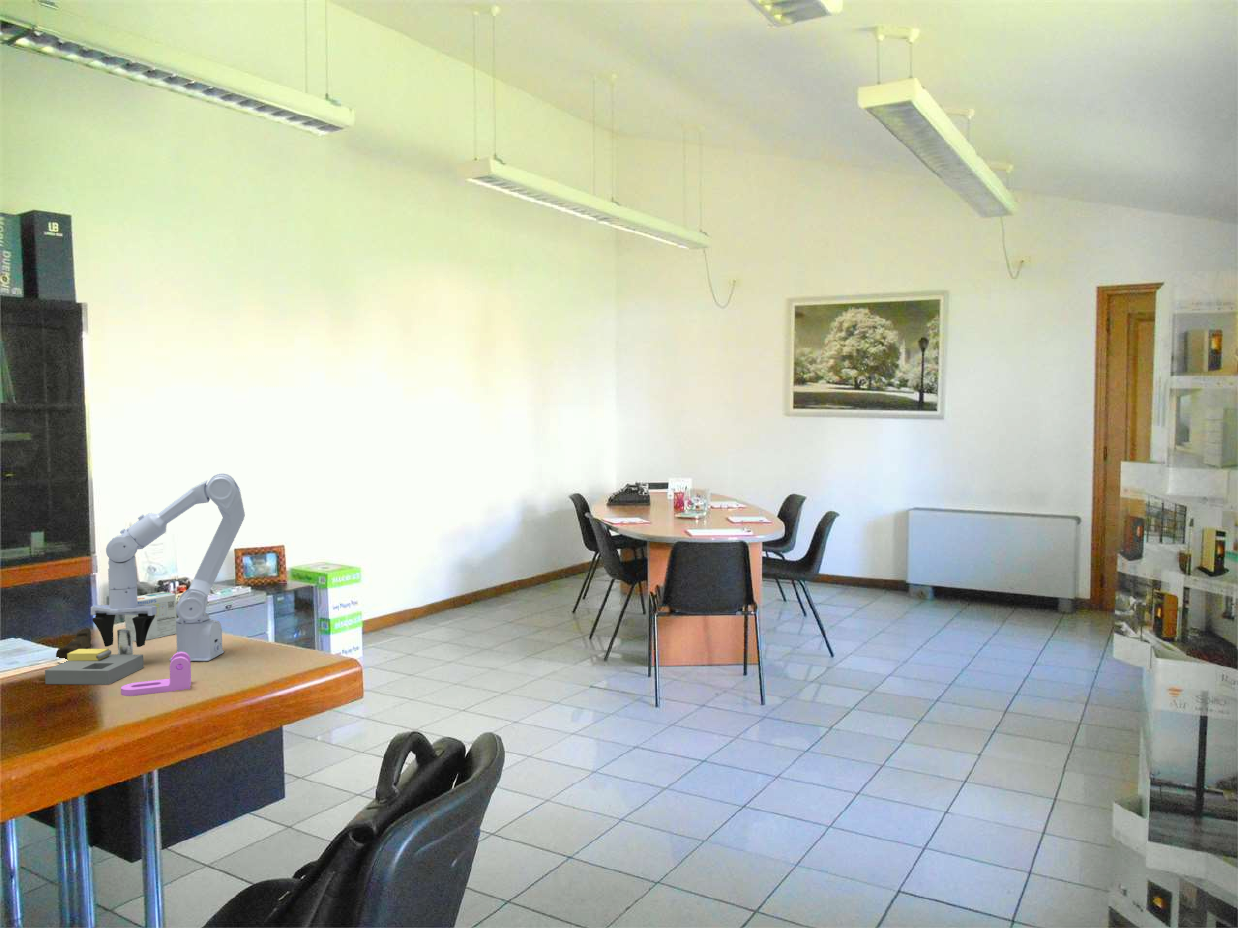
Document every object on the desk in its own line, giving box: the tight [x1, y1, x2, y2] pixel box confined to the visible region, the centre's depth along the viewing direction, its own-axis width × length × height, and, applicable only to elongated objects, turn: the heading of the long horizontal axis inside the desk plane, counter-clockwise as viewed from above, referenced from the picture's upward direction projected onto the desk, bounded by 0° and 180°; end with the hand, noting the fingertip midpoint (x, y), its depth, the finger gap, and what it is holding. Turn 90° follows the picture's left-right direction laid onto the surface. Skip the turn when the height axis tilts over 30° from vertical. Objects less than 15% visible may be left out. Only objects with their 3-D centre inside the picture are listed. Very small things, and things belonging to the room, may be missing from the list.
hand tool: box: [55, 627, 92, 659], centre depth 220 cm, size 19×4×5 cm, turn 13°
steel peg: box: [116, 627, 134, 655], centre depth 210 cm, size 3×3×8 cm
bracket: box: [120, 651, 192, 697], centre depth 190 cm, size 13×6×7 cm, turn 113°
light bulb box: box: [124, 591, 178, 642], centre depth 236 cm, size 11×7×11 cm, turn 144°
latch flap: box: [67, 648, 112, 661], centre depth 204 cm, size 8×4×2 cm, turn 87°
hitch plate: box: [44, 653, 145, 686], centre depth 201 cm, size 14×13×3 cm
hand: (124, 645), depth 210 cm, fingers open, 7 cm apart
